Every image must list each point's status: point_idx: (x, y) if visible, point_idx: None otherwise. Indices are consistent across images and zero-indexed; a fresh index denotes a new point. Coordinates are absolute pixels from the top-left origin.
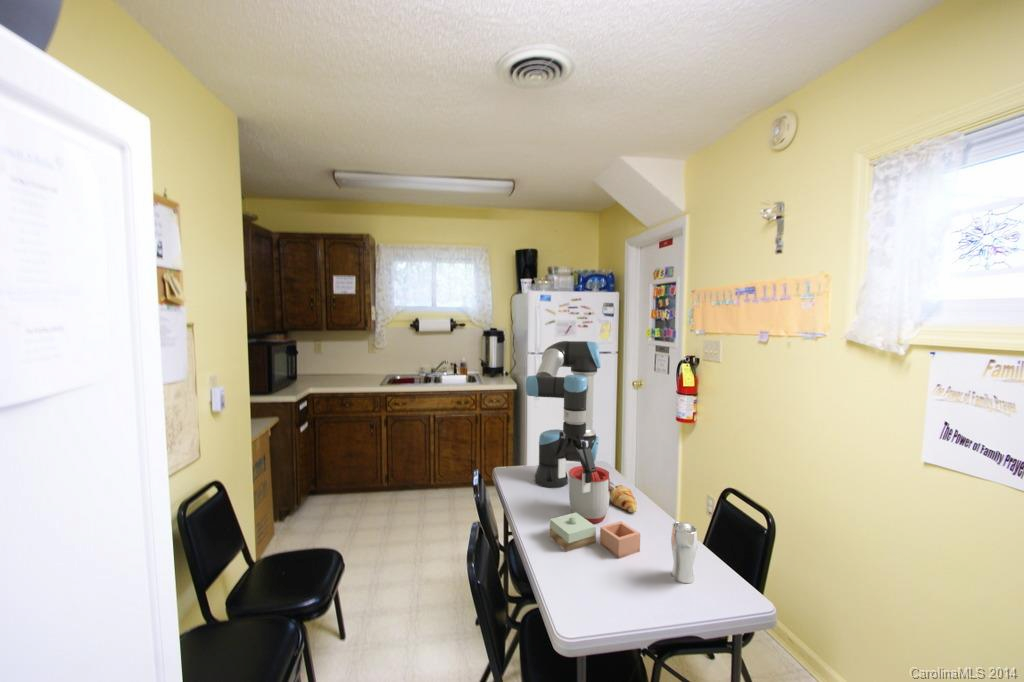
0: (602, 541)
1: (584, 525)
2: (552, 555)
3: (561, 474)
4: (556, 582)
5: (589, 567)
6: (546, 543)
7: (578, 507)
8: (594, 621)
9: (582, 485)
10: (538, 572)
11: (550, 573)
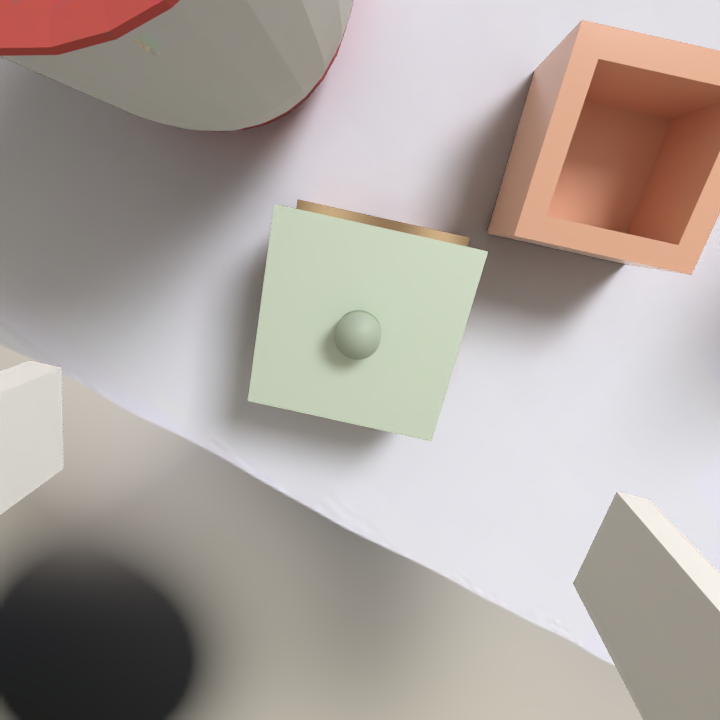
0: (514, 238)
1: (429, 301)
2: (392, 462)
3: (20, 461)
4: (514, 559)
5: (554, 415)
6: (311, 419)
7: (230, 127)
8: None
9: (635, 682)
10: (432, 563)
11: (466, 541)
